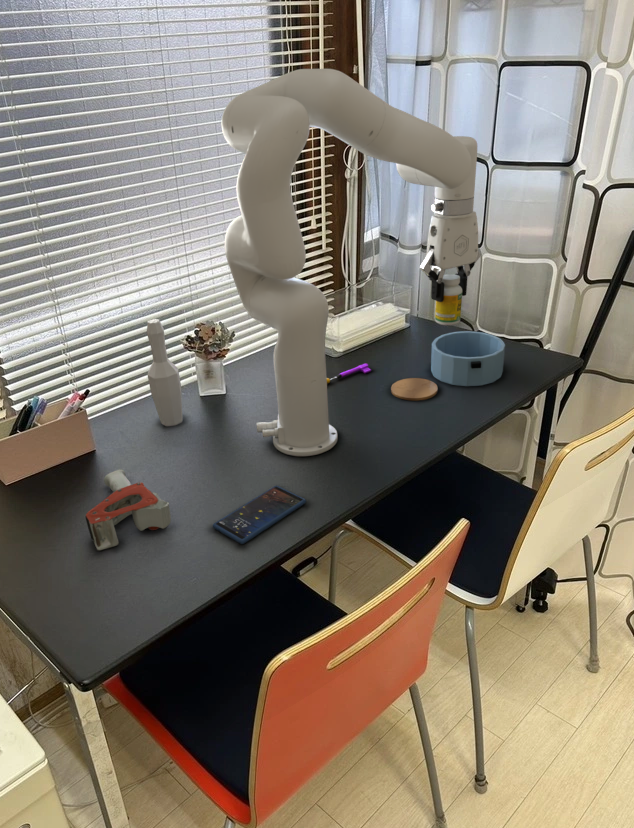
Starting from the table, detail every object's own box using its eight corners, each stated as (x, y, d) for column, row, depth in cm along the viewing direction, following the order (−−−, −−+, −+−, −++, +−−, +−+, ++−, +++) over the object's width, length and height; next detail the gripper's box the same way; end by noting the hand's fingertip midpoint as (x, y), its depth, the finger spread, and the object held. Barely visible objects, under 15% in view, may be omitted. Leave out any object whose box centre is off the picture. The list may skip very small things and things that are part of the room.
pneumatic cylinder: (365, 365, 165) (311, 387, 158) (366, 361, 165) (311, 383, 157) (373, 371, 164) (318, 393, 156) (373, 367, 163) (318, 389, 156)
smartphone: (307, 499, 119) (241, 542, 110) (307, 503, 120) (242, 546, 111) (276, 483, 124) (210, 524, 115) (276, 487, 124) (211, 528, 115)
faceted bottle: (161, 430, 145) (141, 329, 134) (153, 418, 150) (133, 319, 139) (190, 423, 147) (173, 322, 136) (182, 411, 152) (165, 313, 141)
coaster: (394, 402, 149) (394, 399, 149) (388, 381, 158) (388, 379, 158) (441, 399, 149) (441, 396, 149) (433, 379, 158) (433, 376, 157)
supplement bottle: (435, 316, 153) (437, 272, 148) (460, 317, 152) (463, 272, 147) (434, 325, 148) (436, 280, 143) (460, 326, 147) (463, 280, 142)
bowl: (438, 390, 153) (439, 362, 149) (425, 358, 168) (426, 332, 164) (511, 385, 152) (514, 357, 149) (491, 353, 167) (493, 327, 164)
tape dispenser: (117, 486, 131) (54, 546, 115) (111, 460, 129) (45, 518, 112) (203, 492, 126) (150, 556, 109) (199, 466, 123) (143, 527, 107)
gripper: (431, 216, 132) (427, 310, 141) (500, 202, 139) (492, 293, 148) (406, 210, 137) (404, 301, 147) (473, 197, 144) (467, 284, 154)
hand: (448, 296), depth 147 cm, fingers closed on supplement bottle, 5 cm apart
